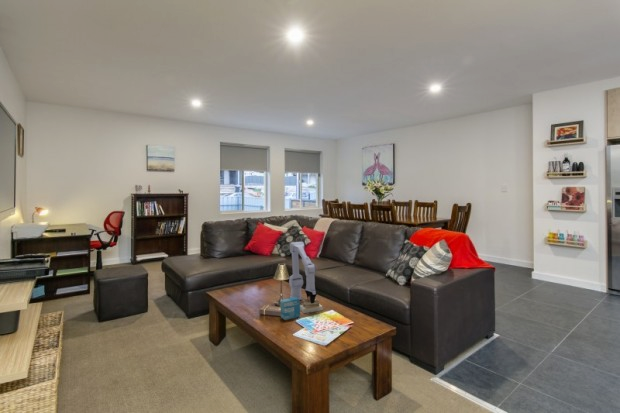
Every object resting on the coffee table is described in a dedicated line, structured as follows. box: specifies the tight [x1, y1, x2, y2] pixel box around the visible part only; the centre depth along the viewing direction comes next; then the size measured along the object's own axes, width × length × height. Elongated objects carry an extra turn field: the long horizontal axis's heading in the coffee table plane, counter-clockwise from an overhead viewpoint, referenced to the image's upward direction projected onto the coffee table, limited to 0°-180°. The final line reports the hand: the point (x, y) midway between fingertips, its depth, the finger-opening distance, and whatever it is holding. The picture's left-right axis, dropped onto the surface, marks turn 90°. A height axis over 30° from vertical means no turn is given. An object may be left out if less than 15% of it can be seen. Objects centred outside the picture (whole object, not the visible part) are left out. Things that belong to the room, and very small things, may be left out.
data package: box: [280, 297, 301, 321], centre depth 204 cm, size 12×4×12 cm, turn 117°
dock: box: [300, 303, 324, 314], centre depth 217 cm, size 9×14×3 cm, turn 109°
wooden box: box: [302, 297, 320, 308], centre depth 217 cm, size 6×10×4 cm, turn 109°
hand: (310, 301), depth 217 cm, fingers closed on wooden box, 6 cm apart
